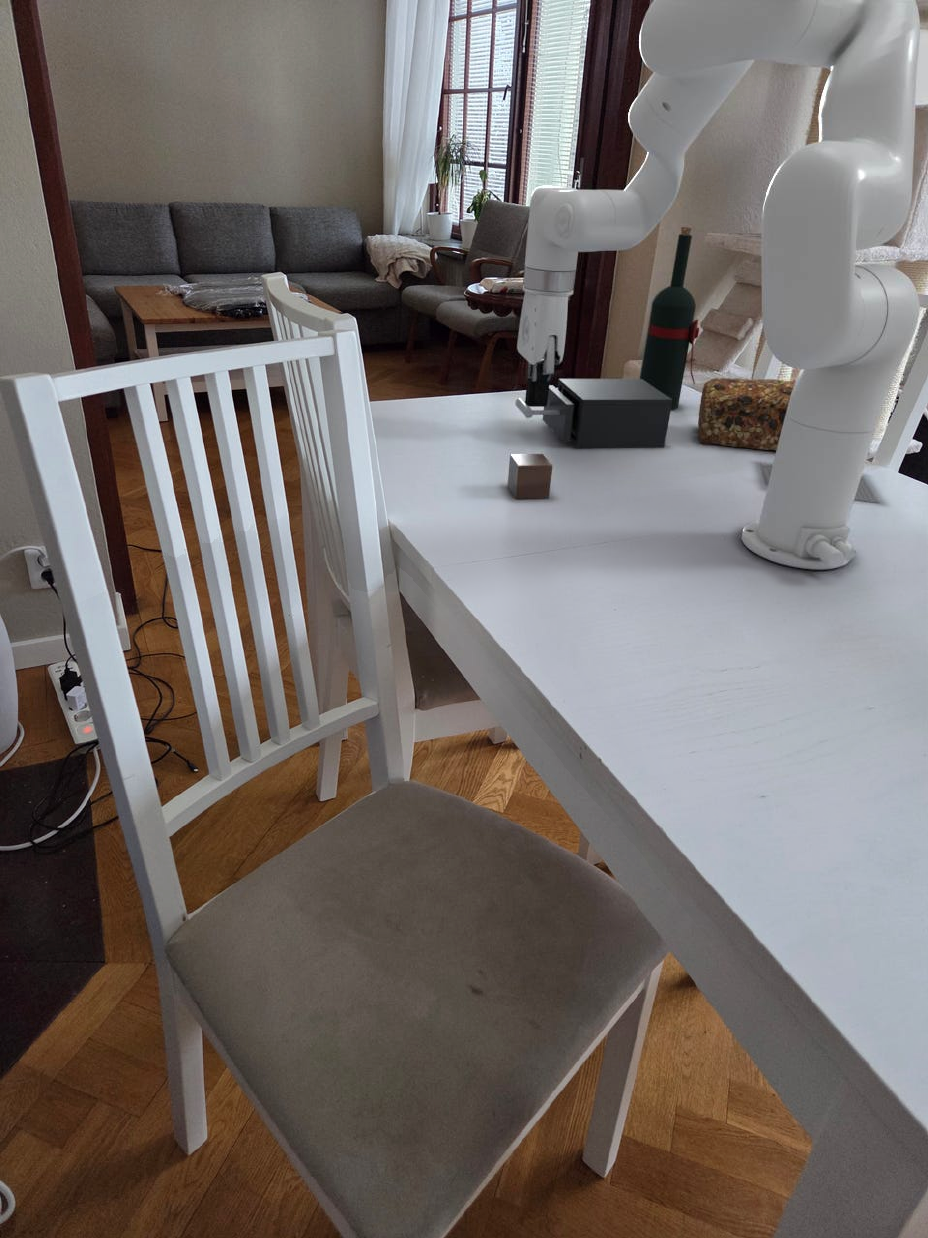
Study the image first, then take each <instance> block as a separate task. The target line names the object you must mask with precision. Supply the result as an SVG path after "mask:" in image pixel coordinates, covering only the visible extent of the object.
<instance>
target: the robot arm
mask: <svg viewBox="0 0 928 1238" xmlns="http://www.w3.org/2000/svg"><path fill="white" fill-rule="evenodd" d="M920 21H921V20H920V13H919V8H918V4H917V2H916V0H652V2H651V3H650V6H649V7H648V9H647V10H646V12H645V15H644V17H643V20H642V23H641V28H640V31H639V40H638V41H639V52H640V56H641V58H642V61H643V63H644V64H645V66H646V67H647V68H648V69H649V70H650V71H651V72H652V74H651V76H650V77H649V79H648V80H647V81H646V83H645V84H644V86H643V87H642V89H641V90H640V92H639V93H638V95H637V97H636V98H635V99H634V101H633V102H632V104H631V106H630V108H629V112H628V124H629V127H630V130H631V132H632V134H633V136H634V138H635V139H636V141H637V143H638V144H639V145H640V146H641V147H642V148H643V149H644V150H645V151H646V152H647V154H646V157H645V160H644V162H643V164H642V165H641V166H640V169H639V170H638V171H637V173H636V174H635V175H634V177H633V178H632V179H631V181H630V182H629V184H628V185H627V186H626V187H625V188H624V189H577V188H574V187H568V186H557V185H542V186H541V185H540V186H538V187H536V188H535V189H534V190H533V191H532V193H531V194H530V195H531V196H530V202H529V212H528V224H527V234H526V246H525V258H524V268H523V279H522V289H521V290H522V291H523V292H524V295H523V301H522V308H521V312H520V320H519V327H518V335H517V342H516V343H517V344H516V349H517V350H516V351H517V352H518V353H519V355H521V357H523V358H524V359H525V360H526V361H527V375H526V376H527V378H526V386H525V396H524V397H525V398H524V402H525V403H526V404H527V405H528V406H529V407H530V408H532V407H535V408H539V407H541V408H544V407H545V406H547V402H548V393H549V385H551V384H550V383H551V380H552V379H551V378H552V376H554V374H555V365H556V366H558V365H560V364H561V363H562V362H563V358H564V354H565V345H566V337H567V336H566V335H567V325H568V323H567V322H568V310H569V309H568V305H569V296H573V295H574V289H575V283H576V281H575V280H576V272H577V265H578V257H579V253H589V252H590V253H591V252H593V253H594V252H605V251H606V252H607V251H610V252H611V251H626V250H629V249H632V248H634V247H636V246H637V245H639V244H640V243H641V242H642V241H644V240H645V239H646V238H647V237H649V235H650V234H651V233H652V232H653V230H655V228H656V227H657V226H658V224H659V223H660V222H661V221H662V219H663V218H664V217H665V215H666V214H667V213H668V211H669V210H670V209H671V207H672V205H673V203H674V202H675V200H676V198H677V195H678V193H679V191H680V187H681V183H682V179H683V175H684V171H685V155H686V152H687V151H688V149H689V148H690V146H691V145H692V144H693V142H694V141H695V140H696V139H697V137H698V136H699V135H700V133H701V132H702V131H703V129H704V128H705V127H706V125H707V124H708V123H709V121H710V120H711V119H712V118H713V117H714V115H715V113H716V112H717V111H718V110H719V108H720V107H721V106H722V104H723V103H724V102H725V101H726V99H727V98H728V97H729V96H730V94H731V93H732V92H733V90H734V89H735V87H736V86H737V85H738V84H739V82H740V81H741V80H742V78H743V77H744V76H745V75H746V73H747V72H748V71H749V70H750V68H751V66H752V65H753V64H754V62H755V61H767V62H772V63H773V62H774V63H778V64H785V65H791V66H800V67H801V66H802V67H808V68H822V69H828V70H830V73H829V75H828V76H827V79H826V82H825V85H824V88H823V90H822V93H821V94H822V95H821V98H820V103H819V111H818V112H819V113H818V131H819V133H818V134H819V135H818V141H816V142H811V143H808V144H806V145H804V146H802V147H800V148H798V149H797V150H795V151H793V153H791V154H790V155H789V156H788V157H786V159H785V160H784V161H783V162H782V163H781V164H780V166H779V167H778V168H777V170H776V171H775V173H774V175H773V177H772V179H771V181H770V183H769V186H768V188H767V191H766V195H765V198H764V201H763V205H762V213H761V318H762V320H761V321H762V330H763V334H764V338H765V341H766V344H767V346H768V348H769V350H770V352H771V354H772V355H773V356H774V357H775V359H776V360H778V361H779V362H780V363H782V364H784V365H785V366H787V367H790V368H793V369H797V370H798V369H799V370H800V371H799V373H798V376H797V377H796V380H795V381H796V382H795V385H794V388H793V390H792V393H791V397H790V400H789V404H788V408H787V412H786V415H785V419H784V423H783V427H782V431H781V435H780V439H779V443H778V447H777V451H776V450H775V451H776V452H775V455H774V459H773V464H772V465H773V467H772V471H771V475H770V479H769V483H768V487H767V486H766V492H765V496H764V499H763V504H762V507H761V511H760V516H759V519H756V520H753V521H750V522H749V523H747V524H746V525H744V527H743V529H742V533H741V540H742V541H741V542H742V543H743V545H745V546H746V548H747V549H748V550H750V551H751V552H753V553H754V554H756V555H757V556H759V557H761V558H764V559H766V560H768V561H771V562H774V563H777V564H780V565H784V566H788V567H793V568H798V569H803V570H820V571H822V570H833V569H839V568H841V567H843V566H845V565H847V564H848V563H850V561H851V560H853V559H854V558H855V557H856V554H857V551H856V550H855V548H853V545H852V544H851V542H849V540H848V536H849V534H850V531H851V528H850V527H848V526H847V524H848V521H849V518H850V515H851V511H852V508H853V505H854V502H855V500H854V499H855V495H856V492H857V489H858V486H859V482H860V479H861V476H863V472H864V469H865V466H866V463H867V459H868V456H869V453H870V451H871V450H870V449H871V446H872V443H873V440H874V436H875V433H876V430H877V428H878V424H879V421H880V419H881V415H882V412H883V408H884V406H885V403H886V400H887V397H888V393H889V391H890V389H891V386H892V383H893V380H894V378H895V376H896V374H897V371H898V370H899V367H900V365H901V363H902V361H903V359H904V357H905V355H906V353H907V351H908V348H909V346H910V344H911V342H912V339H913V338H914V335H915V332H916V329H917V325H918V322H919V318H920V298H919V294H918V291H917V289H916V287H915V285H914V283H913V281H912V280H911V278H910V277H909V276H908V275H906V274H905V272H903V271H901V270H899V269H898V268H895V267H893V266H890V265H886V264H880V263H879V264H878V263H862V264H861V263H858V264H857V263H856V254H857V253H856V251H863V250H868V249H872V248H876V247H879V246H881V245H883V244H885V243H887V242H889V241H890V240H892V239H893V238H894V237H895V236H896V235H897V234H898V233H899V232H900V231H901V229H902V228H903V226H904V225H905V223H906V221H907V219H908V217H909V213H910V210H911V206H912V205H911V204H912V197H913V178H914V154H915V153H914V152H915V133H916V94H917V93H916V91H917V74H918V73H917V72H918V62H919V61H918V59H919V52H920V51H919V50H920V39H921V38H920V37H921V22H920Z"/></svg>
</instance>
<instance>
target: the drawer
mask: <svg viewBox="0 0 928 1238" xmlns="http://www.w3.org/2000/svg"><path fill="white" fill-rule="evenodd" d="M514 402H515V403H514V404H515V406H516V407H517V410H519V411H520V412H521V413H522V414H523V415H524V417H525V418H527V419H530V418H532V417H533V416H542V421H543V422H544V423H545V424H546V425H547V427H549V429H550V430H551V431H552V432H553V433H554V434H555V435H556V436H557V438H559V439H560V440H561V442H563V443H564V442H565V443H567V442H571V441H570V436H571V433H572V434H573V435H574V436H575V437H576V438H577V430H578V422H579V414H580V406H581V403H580V402H579V401H578V400H576V399H575V398H574V397H573V396H572V395H571V394H570V393H568V392H567V391H566V390H565V389H564V388H562V390H561V392H560V391H558V388H556V387H555V386H554V385H553V384H552V385H551V384H549V393H548V402H547V406H545V407H543V409H541V410H540V409H537V410H534V409H532V407H529V406H528V405H527V404H526V403H525V400H524V399H522V398H517V399H516V400H515V401H514Z"/></svg>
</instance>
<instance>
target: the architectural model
mask: <svg viewBox="0 0 928 1238" xmlns="http://www.w3.org/2000/svg"><path fill="white" fill-rule="evenodd" d="M759 466H760V469H761V472H762V476H763V479H764V483H765V485H766V488H767V487H768V483H769V479H770V475H771V471H772V467H773V464H772V465H771V464H764V463H763V464H762V463H759ZM854 501H861V502H870V503H878V504H880V501H879V500H878V498H877V496H876V495H875V493H874V491H873V490H872V488H871V487H870V485H869V483H868V482H867V480H866V479H865V477H864V475H862V476H861V479H860V482H859V486H858V489H857V492H856V495H855V499H854Z"/></svg>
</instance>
